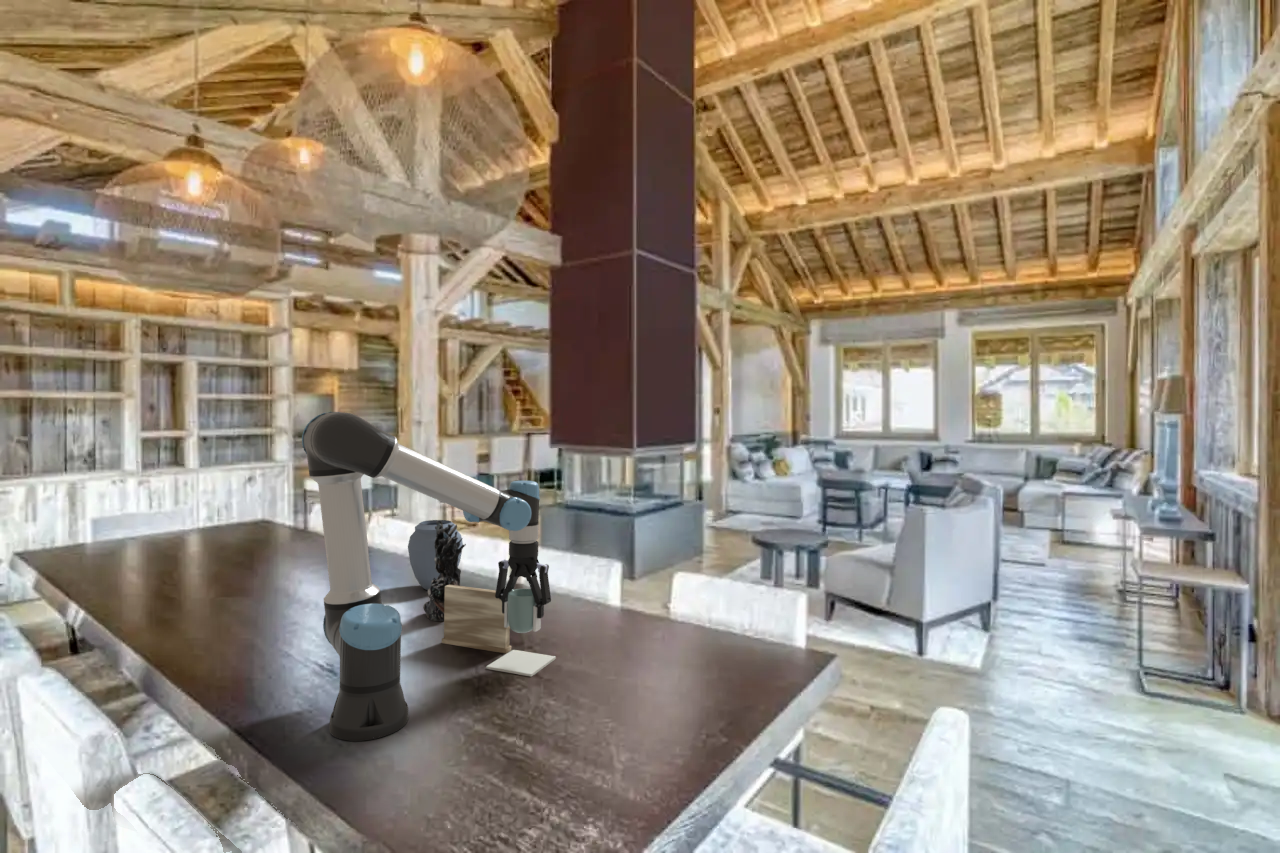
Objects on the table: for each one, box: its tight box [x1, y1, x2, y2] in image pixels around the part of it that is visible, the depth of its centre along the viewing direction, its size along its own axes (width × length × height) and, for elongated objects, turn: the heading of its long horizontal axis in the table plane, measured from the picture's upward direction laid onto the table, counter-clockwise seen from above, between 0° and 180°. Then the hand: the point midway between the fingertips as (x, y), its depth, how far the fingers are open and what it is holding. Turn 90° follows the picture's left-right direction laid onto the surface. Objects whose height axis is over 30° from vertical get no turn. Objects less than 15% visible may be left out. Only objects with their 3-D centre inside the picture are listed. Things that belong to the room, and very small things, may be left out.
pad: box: [485, 649, 557, 678], centre depth 170 cm, size 13×13×1 cm
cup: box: [507, 588, 536, 634], centre depth 170 cm, size 8×8×10 cm
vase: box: [407, 519, 464, 591], centre depth 242 cm, size 20×20×24 cm
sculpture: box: [422, 519, 467, 622], centre depth 208 cm, size 14×15×30 cm
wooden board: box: [441, 585, 512, 654], centre depth 182 cm, size 3×21×16 cm, turn 70°
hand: (522, 627), depth 170 cm, fingers closed on cup, 8 cm apart
